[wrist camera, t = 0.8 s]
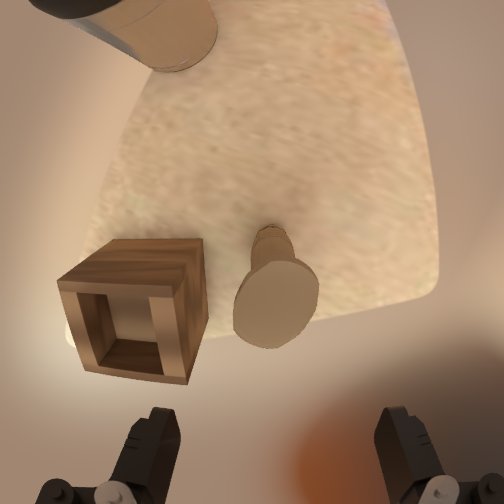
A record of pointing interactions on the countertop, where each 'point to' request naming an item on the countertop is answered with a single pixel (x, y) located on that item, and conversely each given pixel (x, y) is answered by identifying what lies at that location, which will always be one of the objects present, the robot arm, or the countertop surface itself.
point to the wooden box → (138, 308)
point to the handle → (274, 293)
